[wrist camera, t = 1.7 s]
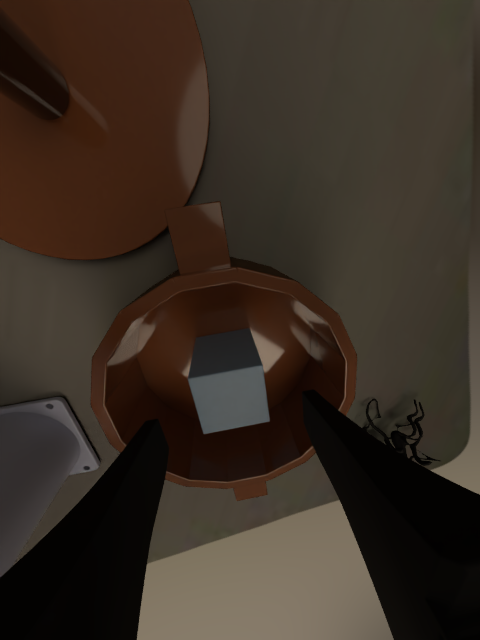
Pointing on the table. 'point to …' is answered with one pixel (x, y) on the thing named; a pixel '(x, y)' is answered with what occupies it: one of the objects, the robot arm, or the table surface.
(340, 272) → the table surface
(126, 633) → the robot arm
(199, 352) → the block
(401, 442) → the creature
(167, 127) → the lid
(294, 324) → the pot
